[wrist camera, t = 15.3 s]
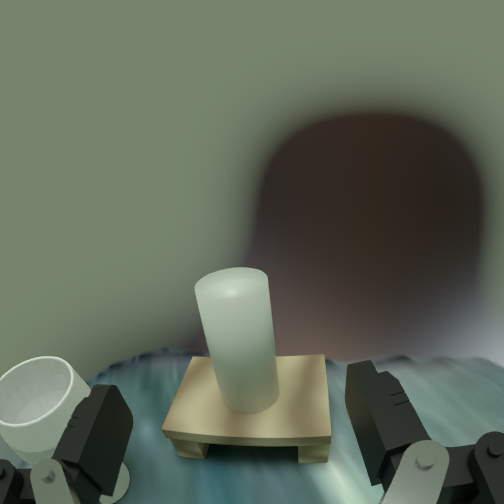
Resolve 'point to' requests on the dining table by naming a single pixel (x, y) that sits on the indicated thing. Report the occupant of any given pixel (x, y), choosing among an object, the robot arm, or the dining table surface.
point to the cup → (44, 411)
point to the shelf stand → (259, 424)
